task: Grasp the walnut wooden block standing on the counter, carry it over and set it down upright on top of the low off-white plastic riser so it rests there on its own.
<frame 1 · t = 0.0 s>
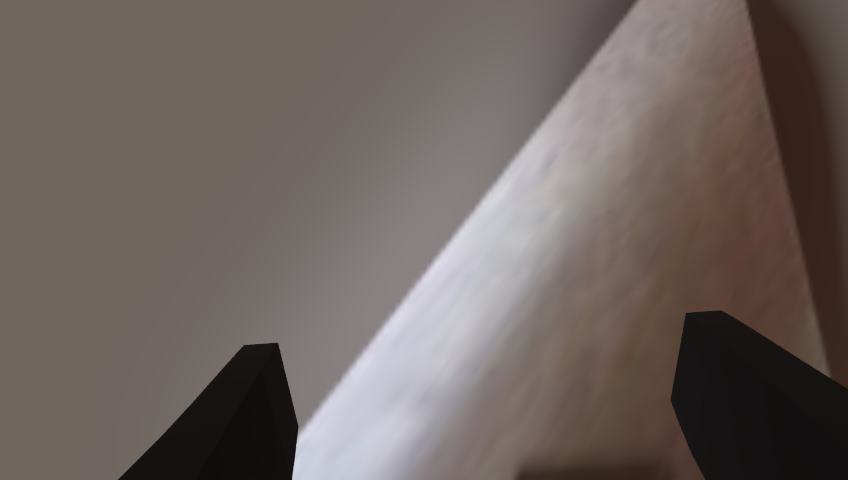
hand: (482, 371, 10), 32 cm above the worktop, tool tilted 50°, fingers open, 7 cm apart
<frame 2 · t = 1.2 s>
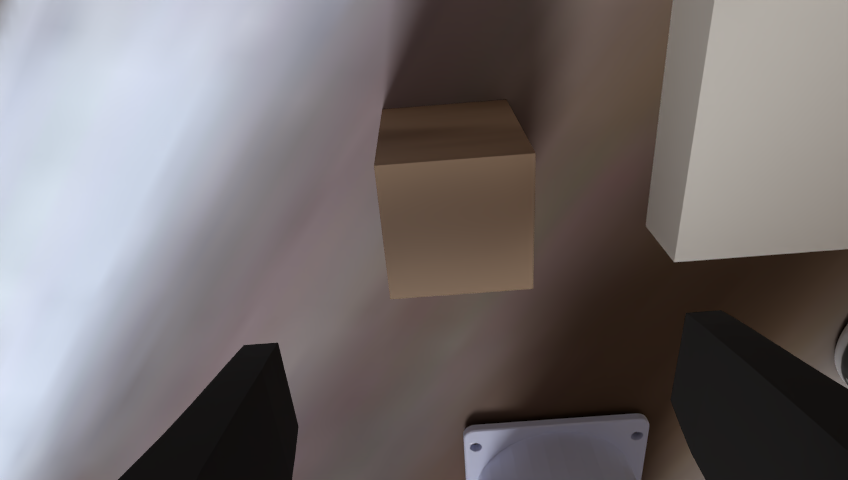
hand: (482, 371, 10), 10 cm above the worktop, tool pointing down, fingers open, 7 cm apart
block: (447, 162, 20), on the worktop
riser: (811, 71, 19), on the worktop
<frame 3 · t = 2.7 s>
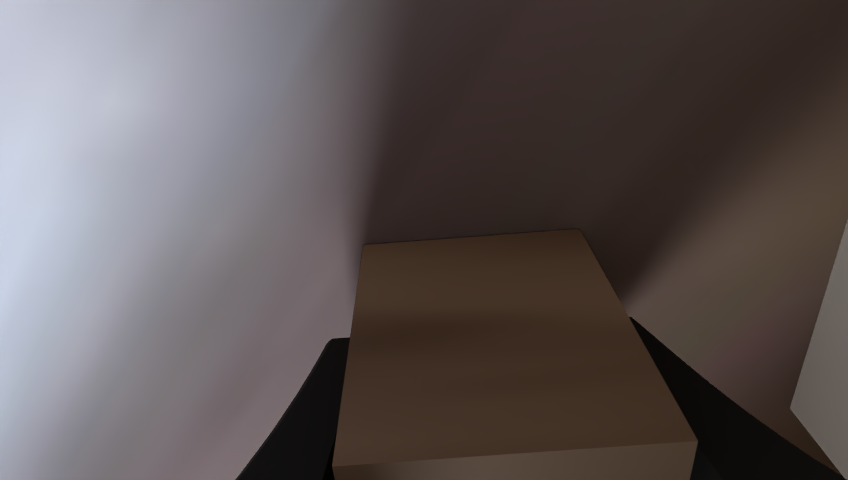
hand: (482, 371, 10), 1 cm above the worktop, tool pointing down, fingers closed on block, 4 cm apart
block: (474, 324, 12), on the worktop, touching gripper
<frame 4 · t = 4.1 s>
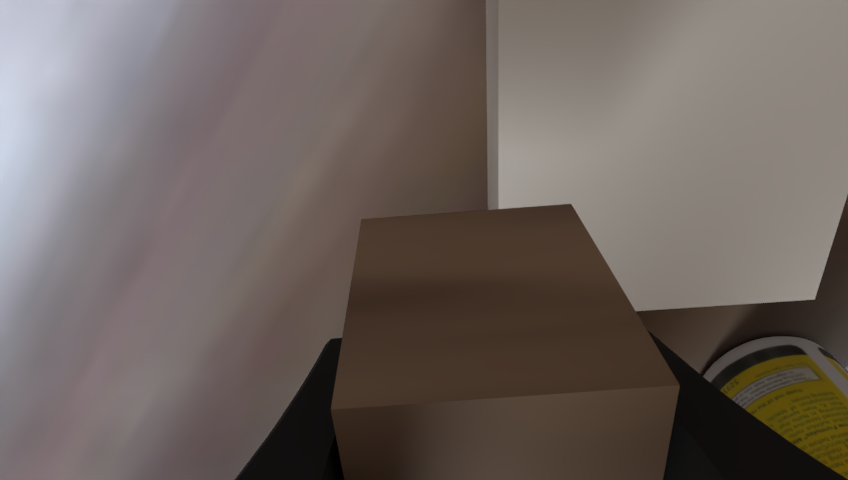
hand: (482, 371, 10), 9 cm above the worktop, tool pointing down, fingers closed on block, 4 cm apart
supplement bottle: (757, 382, 24), on the worktop
block: (469, 298, 12), point 7 cm above the worktop, touching gripper
riser: (641, 127, 19), on the worktop
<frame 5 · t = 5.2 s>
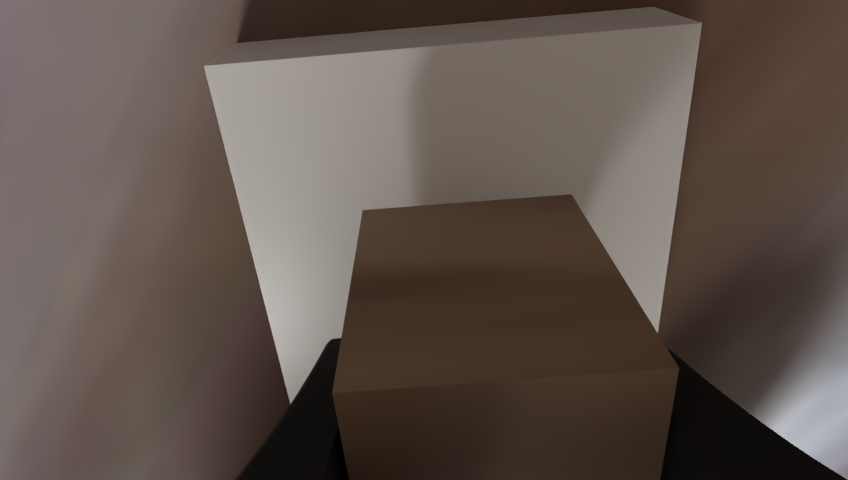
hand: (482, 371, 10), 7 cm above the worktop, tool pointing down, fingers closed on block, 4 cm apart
block: (470, 290, 12), point 5 cm above the worktop, touching gripper
riser: (454, 206, 17), on the worktop
when the fingers open (5 cm above the worktop, at t = 5.8 s): block stays where it is, resting on riser.
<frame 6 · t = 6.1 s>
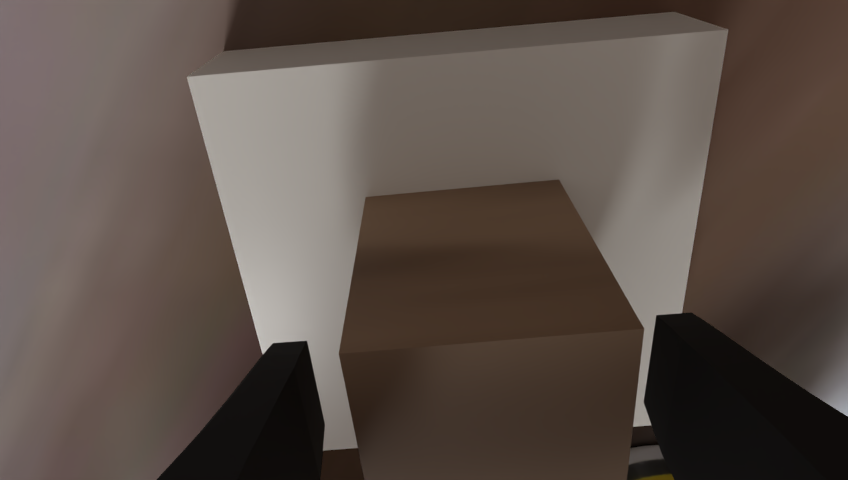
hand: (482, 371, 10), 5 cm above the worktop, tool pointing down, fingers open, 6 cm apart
block: (467, 270, 13), point 2 cm above the worktop, touching riser
riser: (457, 221, 16), on the worktop, touching block
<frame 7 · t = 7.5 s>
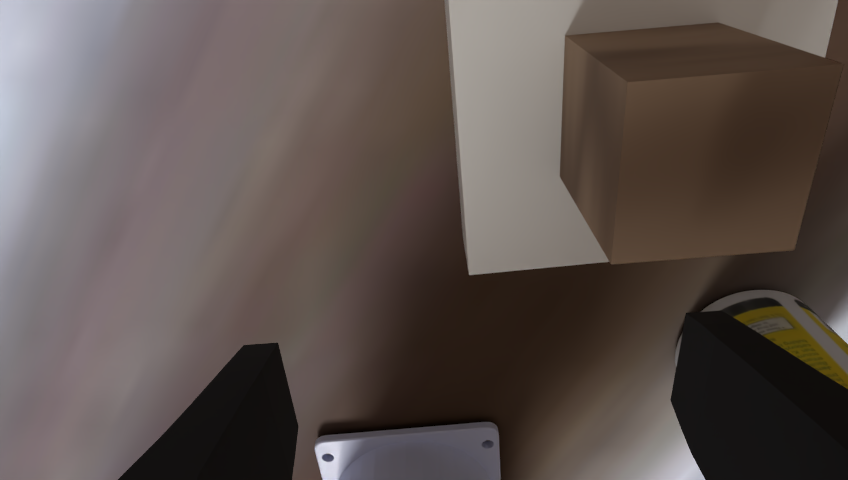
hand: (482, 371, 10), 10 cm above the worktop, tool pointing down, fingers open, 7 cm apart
supplement bottle: (738, 338, 24), on the worktop
block: (634, 104, 16), point 2 cm above the worktop
riser: (604, 81, 19), on the worktop
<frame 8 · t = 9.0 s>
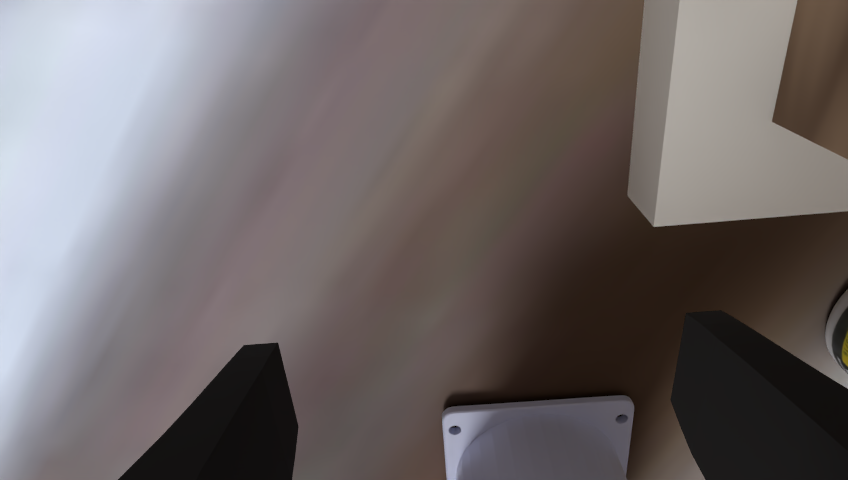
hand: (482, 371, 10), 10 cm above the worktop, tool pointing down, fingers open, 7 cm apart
riser: (793, 30, 18), on the worktop, touching block
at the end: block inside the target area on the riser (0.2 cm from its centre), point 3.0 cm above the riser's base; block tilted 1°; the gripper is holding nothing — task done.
